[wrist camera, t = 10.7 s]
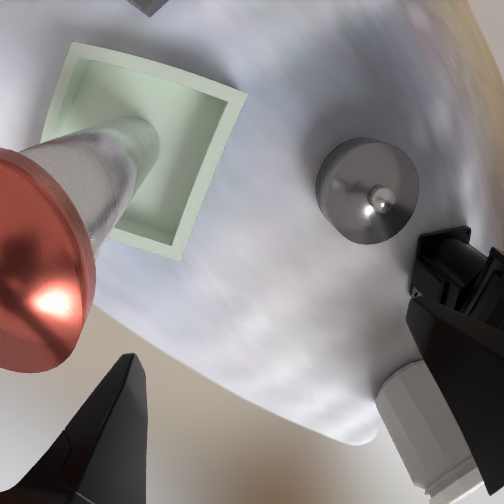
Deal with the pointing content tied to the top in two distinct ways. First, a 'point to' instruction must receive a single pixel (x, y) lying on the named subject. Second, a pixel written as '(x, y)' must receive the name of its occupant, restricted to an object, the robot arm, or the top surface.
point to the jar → (427, 435)
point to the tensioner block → (148, 5)
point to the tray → (165, 123)
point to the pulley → (367, 190)
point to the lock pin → (62, 233)
